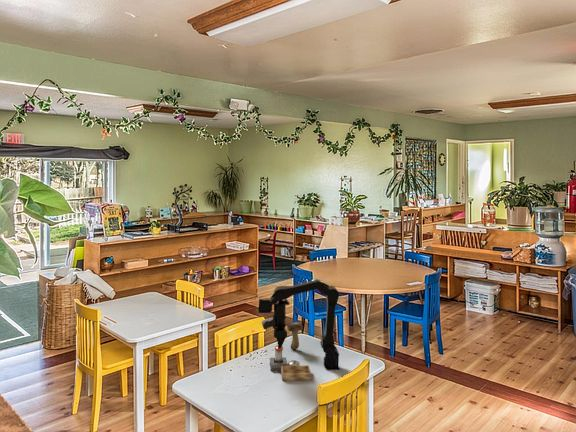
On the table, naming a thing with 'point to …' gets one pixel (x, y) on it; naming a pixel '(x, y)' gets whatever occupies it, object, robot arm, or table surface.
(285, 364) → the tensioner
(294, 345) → the mushroom
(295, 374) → the tray
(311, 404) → the table surface
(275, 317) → the robot arm
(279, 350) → the pin
